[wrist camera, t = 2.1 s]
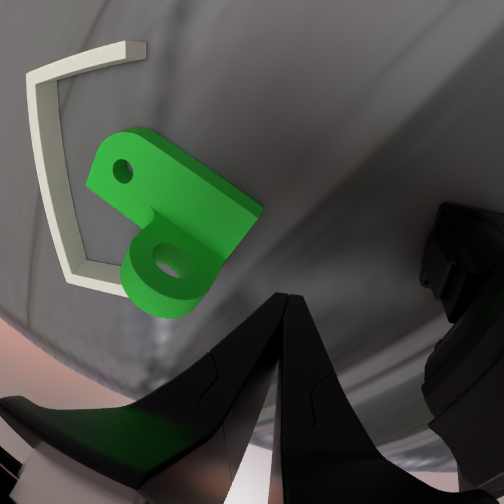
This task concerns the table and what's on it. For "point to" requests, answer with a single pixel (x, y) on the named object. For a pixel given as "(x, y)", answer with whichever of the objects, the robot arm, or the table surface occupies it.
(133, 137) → the mechanical part
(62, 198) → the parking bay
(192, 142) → the table surface
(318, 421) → the robot arm
